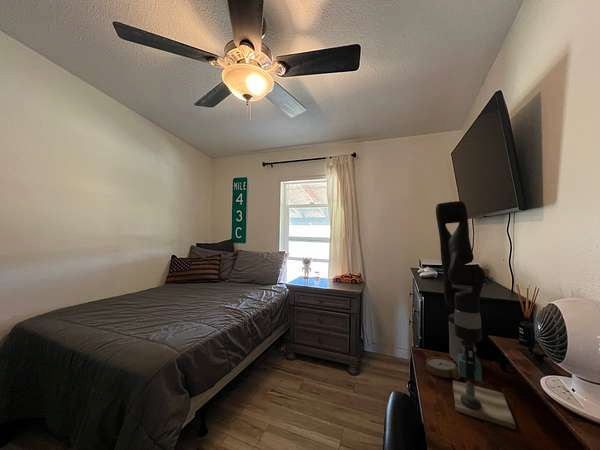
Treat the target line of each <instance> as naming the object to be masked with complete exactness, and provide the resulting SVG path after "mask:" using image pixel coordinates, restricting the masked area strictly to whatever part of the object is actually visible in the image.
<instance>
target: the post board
mask: <svg viewBox="0 0 600 450" xmlns="http://www.w3.org/2000/svg"><path fill="white" fill-rule="evenodd" d="M452 389H453V397H454V408H455V411H456V412H458V413H462V414H465V415H468V416H471V417H475V418H477V419H481V420H483V421H487V422H490V423H493V424H497V425H499V426H503V427H504V428H508V429H509V428H510V429H512V430H516V429H517V426H516V422H515V419H514V417H513V415H512V412H511V410H510V408H509V405H508V403H507V401H506V398H505V395H504V393H503V392H499V391H496V390H495V391H494V390H492V389H488V388H484V387H481V386H477V385H476V386H475V384H474V383H473V382H472V381H466V382H460V381H458V380H455V379H453V380H452Z"/></svg>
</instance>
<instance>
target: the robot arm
mask: <svg viewBox="0 0 600 450" xmlns="http://www.w3.org/2000/svg"><path fill="white" fill-rule="evenodd" d="M435 217H436V224H437V229H438V230H437V231H438V235H439V246H440V247H439V248H440V260H441V267H442V274H443V275H442V276H443V297H444V303H445V305H446V306H447V307H452V308H454V312H453V313H450V314H448V337H449V338H448V339H449V344H448V345H449V358H450V357H451V358H452V359H453V360H455V361H458V353H460V354H463V358H464V359H465V366H466V378H465V379H467V380H469V381H470V380H471V381H476V380H475V375H474V370H476V364H475V361H476V357H477V353H476V352H477V346H476V343H478V342H481V341H482V339H483V336H482V335H483V333H482V316H481V312H480V311H481V308H480V306H481V305H480V300H481V294H482V290H483V287H484V285H485V280H486V272H485V270H484V269H483V268H482V267H481V266H479V265H474V264H473V265H472V264H470V263H472V262H473V261H474V253H473V249H472V245H471V239H470V228H469V217H468V209H467V206H466V204H465V202H463V201H462V200H457V201H456V200H454V201H448V202H439V203H437V204H436V206H435ZM457 223H458V226H457V228H456V229H455V230H454V232H453V233H452V234H451V232H450V230H449V229H448V228H447V224H457ZM453 285H456V286H469V287H470V288H463V287H453ZM475 342H476V343H475ZM465 355H466V356H465ZM453 360H452V361H453ZM468 362H472V364H468Z"/></svg>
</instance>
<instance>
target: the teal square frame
mask: <svg viewBox="0 0 600 450" xmlns="http://www.w3.org/2000/svg"><path fill="white" fill-rule="evenodd" d="M465 356H466V355H465ZM468 364H472V362H468ZM475 364H476V370H474V375H475V380H474V381H477V382H482V381H483V375H482V371H483V370H482V363H481V360H480V358H479V357H477V356H476V361H475ZM458 370H459V376H461V377H462V378H465V379H467V378H466V366H465V359H464V358H463V354H460V353H458ZM461 377H460V378H461Z"/></svg>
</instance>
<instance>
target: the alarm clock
mask: <svg viewBox="0 0 600 450" xmlns="http://www.w3.org/2000/svg"><path fill="white" fill-rule="evenodd" d="M425 362H426V366H425V367H424V368H425V369H427V370H428V372H429V373H431V374H432V375H434V376H436V377H440V378H447V379H448V378H452V379H453V380H454V381H458V380H460V379H461V376H459V370H458V361H455V360H451V359H450V358H445V357H441V356H431V357H427V358H426V361H425Z"/></svg>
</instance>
